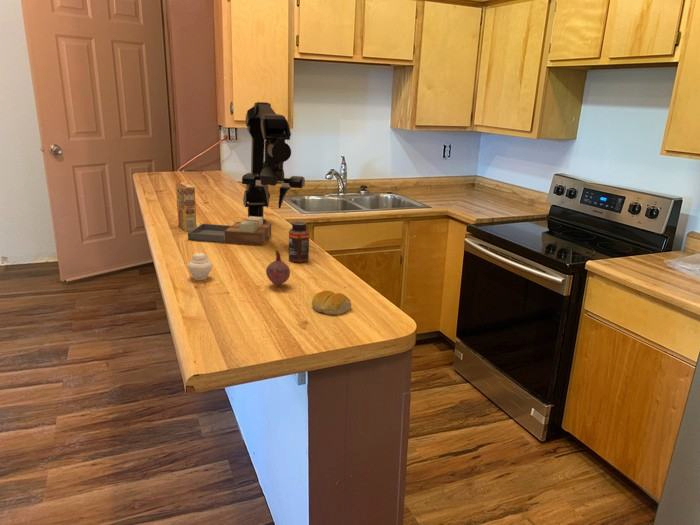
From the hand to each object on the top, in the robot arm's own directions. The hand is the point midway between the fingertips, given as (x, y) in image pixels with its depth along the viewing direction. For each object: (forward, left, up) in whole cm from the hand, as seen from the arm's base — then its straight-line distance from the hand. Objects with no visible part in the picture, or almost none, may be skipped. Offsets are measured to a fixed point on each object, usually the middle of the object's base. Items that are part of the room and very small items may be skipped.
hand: (273, 207), depth 169 cm
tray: (-4, -21, -12) cm, 25 cm away
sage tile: (0, -8, -8) cm, 11 cm away
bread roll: (+49, +25, -12) cm, 56 cm away
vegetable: (+37, +10, -12) cm, 41 cm away
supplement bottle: (+14, +11, -12) cm, 22 cm away
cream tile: (-7, -8, -8) cm, 13 cm away
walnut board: (-4, -9, -12) cm, 15 cm away
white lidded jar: (+36, -11, -12) cm, 40 cm away
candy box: (-12, -33, -12) cm, 37 cm away
